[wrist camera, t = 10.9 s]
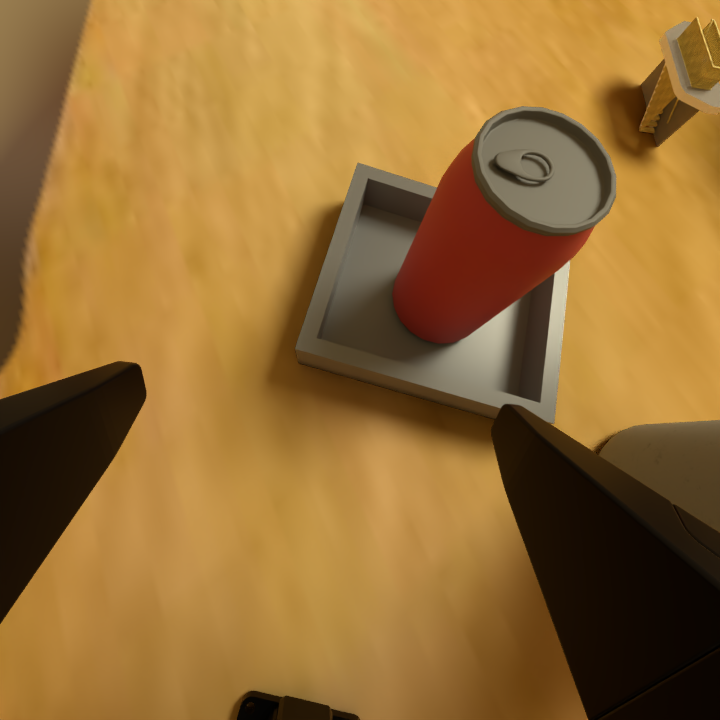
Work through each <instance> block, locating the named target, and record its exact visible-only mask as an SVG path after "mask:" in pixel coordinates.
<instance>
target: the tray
mask: <svg viewBox="0 0 720 720" xmlns="http://www.w3.org/2000/svg"><path fill="white" fill-rule="evenodd" d="M436 189H437V188H436V187H433V186H430V185H427V184H423V183H420V182H417V181H414V180H411V179H408V178H405V177H402V176H398V175H395V174H392V173H389V172H386V171H383V170H380V169H376V168H373V167H370V166H367V165H364V164H361V163H357V166H356V169H355V172H354V175H353V178H352V181H351V184H350V187H349V190H348V193H347V196H346V199H345V202H344V205H343V208H342V210H341V213H340V216H339V219H338V222H337V225H336V228H335V231H334V234H333V237H332V240H331V243H330V246H329V249H328V252H327V255H326V258H325V261H324V264H323V267H322V270H321V273H320V276H319V279H318V282H317V284H316V287H315V290H314V293H313V296H312V299H311V302H310V305H309V308H308V311H307V314H306V317H305V320H304V323H303V326H302V329H301V332H300V335H299V338H298V341H297V344H296V347H295V351H296V355H297V359H298V362H299V363H300V364H303V365H307V366H310V367H314V368H317V369H321V370H324V371H328V372H331V373H335V374H338V375H342V376H345V377H349V378H352V379H355V380H359V381H362V382H366V383H369V384H373V385H376V386H380V387H383V388H387V389H390V390H394V391H397V392H401V393H404V394H408V395H411V396H415V397H418V398H422V399H425V400H429V401H432V402H436V403H439V404H443V405H446V406H450V407H453V408H457V409H460V410H464V411H467V412H470V413H474V414H477V415H481V416H484V417H488V418H491V419H496V417H497V415H498V413H499V411H500V409H501V407H502V406H503V405H504V404H516V405H521V406H523V407H524V408H526V409H527V410H529V411H531V412H532V413H534V414H535V415H537V416H538V417H540V418H541V419H543V420H545V421H546V422H548V423H549V424H554V421H555V410H556V400H557V390H558V380H559V369H560V359H561V349H562V339H563V328H564V318H565V308H566V298H567V288H568V277H569V267H570V260H569V261H568V262H567V263H566V264H565V265H564V266H563V267H562V268H561V269H559V270H558V271H557V272H555V273H554V274H553V275H551V276H550V277H548V278H547V279H546V280H544V281H543V282H542V283H540V284H539V285H538V286H536V287H535V288H533V289H532V290H531V291H529V292H528V293H527V294H525V295H524V296H522V297H521V298H520V299H518V300H517V301H516V302H514V303H513V304H511V305H510V306H509V307H507V308H506V309H505V310H503V311H502V312H500V313H499V314H498V315H496V316H495V317H494V318H492V319H491V320H489V321H488V322H487V323H485V324H484V325H483V326H481V327H480V328H478V329H477V330H476V331H474V332H473V333H472V334H470V335H469V336H467V337H466V338H464V339H461V340H459V341H456V342H454V343H439V344H438V343H434V342H430V341H427V340H423V339H421V338H420V337H418V336H416V335H415V334H413V333H412V332H410V331H409V330H408V329H407V327H406V326H405V325H404V324H403V323H402V322H401V321H400V319H399V317H398V315H397V312H396V310H395V308H394V303H393V295H392V292H393V288H394V283H395V279H396V277H397V275H398V273H399V271H400V268H401V266H402V264H403V262H404V260H405V257H406V255H407V253H408V251H409V249H410V246H411V244H412V242H413V240H414V238H415V236H416V233H417V231H418V229H419V227H420V225H421V222H422V220H423V218H424V216H425V214H426V211H427V209H428V207H429V205H430V203H431V200H432V198H433V196H434V194H435V192H436Z"/></svg>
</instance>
